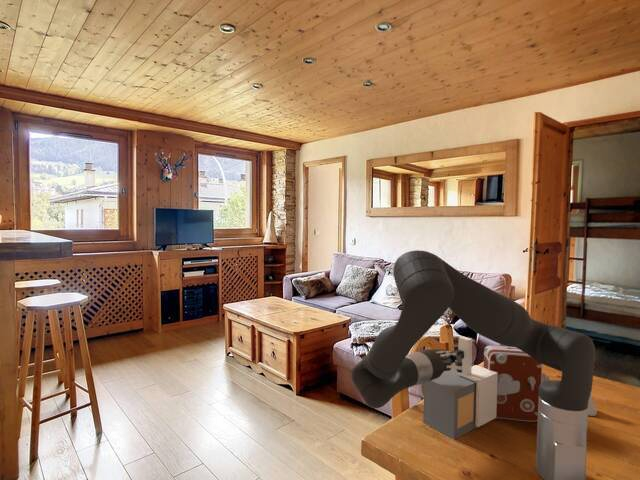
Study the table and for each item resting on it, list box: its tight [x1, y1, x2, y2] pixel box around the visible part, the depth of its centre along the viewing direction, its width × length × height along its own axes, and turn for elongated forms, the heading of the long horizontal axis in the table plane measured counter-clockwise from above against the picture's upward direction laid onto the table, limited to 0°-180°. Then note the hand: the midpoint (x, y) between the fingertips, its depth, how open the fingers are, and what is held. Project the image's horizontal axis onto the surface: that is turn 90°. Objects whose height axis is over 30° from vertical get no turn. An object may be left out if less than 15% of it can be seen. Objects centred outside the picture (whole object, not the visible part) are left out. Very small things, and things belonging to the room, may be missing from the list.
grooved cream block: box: [457, 336, 498, 428], centre depth 106 cm, size 9×7×23 cm
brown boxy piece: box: [483, 344, 550, 423], centre depth 109 cm, size 9×19×20 cm, turn 78°
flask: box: [588, 393, 598, 417], centre depth 112 cm, size 7×7×10 cm
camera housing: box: [422, 369, 477, 441], centre depth 106 cm, size 20×10×13 cm, turn 125°
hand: (461, 353), depth 104 cm, fingers closed
